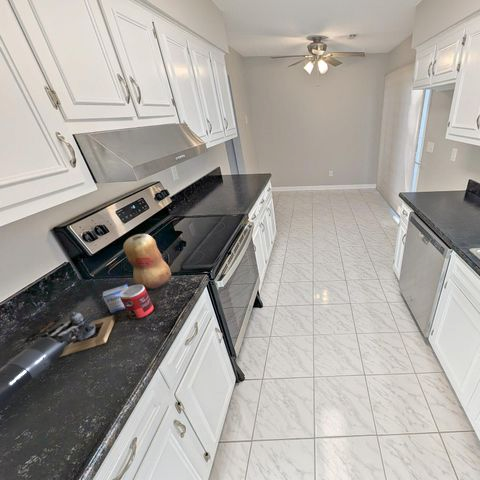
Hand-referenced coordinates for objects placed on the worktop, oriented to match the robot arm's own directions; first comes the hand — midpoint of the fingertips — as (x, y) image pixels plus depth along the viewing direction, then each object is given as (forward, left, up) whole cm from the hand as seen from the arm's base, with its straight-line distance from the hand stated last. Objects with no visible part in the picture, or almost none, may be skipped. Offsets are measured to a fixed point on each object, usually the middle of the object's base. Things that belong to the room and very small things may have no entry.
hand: (87, 316), depth 88 cm
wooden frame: (-1, -2, -7) cm, 8 cm away
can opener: (-19, +9, -7) cm, 22 cm away
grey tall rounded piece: (-1, -3, -7) cm, 8 cm away
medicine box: (+6, +12, -8) cm, 15 cm away
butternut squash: (+17, +22, -8) cm, 28 cm away
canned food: (+14, +4, -7) cm, 16 cm away
